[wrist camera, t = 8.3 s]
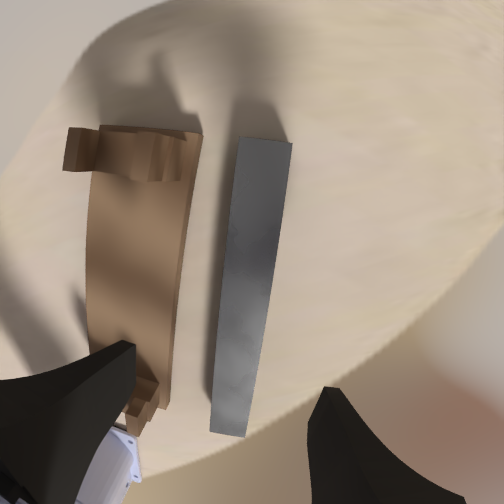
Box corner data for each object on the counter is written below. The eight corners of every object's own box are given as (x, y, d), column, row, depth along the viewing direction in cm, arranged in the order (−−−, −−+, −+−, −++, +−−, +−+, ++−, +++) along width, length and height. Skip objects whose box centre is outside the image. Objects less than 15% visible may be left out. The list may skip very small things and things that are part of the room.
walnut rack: (169, 401, 20) (149, 444, 15) (99, 376, 20) (70, 411, 15) (203, 136, 15) (174, 121, 10) (108, 126, 15) (60, 117, 11)
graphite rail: (248, 414, 20) (244, 437, 17) (215, 408, 20) (209, 431, 17) (290, 148, 15) (292, 143, 13) (244, 142, 15) (239, 136, 13)
